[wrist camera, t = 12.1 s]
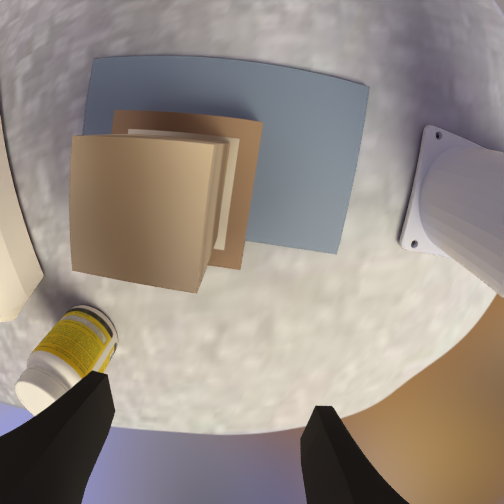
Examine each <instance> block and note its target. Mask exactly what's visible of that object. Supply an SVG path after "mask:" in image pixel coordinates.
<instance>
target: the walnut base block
mask: <svg viewBox="0 0 504 504" xmlns="http://www.w3.org/2000/svg"><path fill="white" fill-rule="evenodd" d="M262 128H263V122H260V121H253V120H246V119H238V118H230V117H222V116H213V115H203V114H192V113H179V112H163V111H139V110H114V117H113V125H112V134H144V135H159V136H171V137H183V138H193V139H202V140H211V141H220V142H227V143H230V149H229V156H228V162H227V169H226V176H225V184H224V191H223V198H222V206H221V213H220V221H219V229H218V237H217V240H216V243H215V246H214V248H213V251H212V254H211V256H210V259H209V262H208V265H211V266H217V267H224V268H231V269H238V270H241V263H242V256H243V250H244V243H245V236H246V230H247V223H248V217H249V210H250V204H251V197H252V191H253V185H254V178H255V172H256V165H257V159H258V153H259V146H260V140H261V134H262Z"/></svg>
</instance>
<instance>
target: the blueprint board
mask: <svg viewBox="0 0 504 504" xmlns="http://www.w3.org/2000/svg"><path fill="white" fill-rule="evenodd" d="M368 94H369V87H368V86H365V85H361V84H358V83H354V82H350V81H347V80H343V79H339V78H335V77H331V76H327V75H322V74H318V73H314V72H309V71H304V70H299V69H294V68H288V67H283V66H277V65H271V64H264V63H257V62H250V61H241V60H232V59H222V58H210V57H193V56H124V57H108V58H96V59H94V61H93V67H92V72H91V77H90V83H89V89H88V96H87V103H86V110H85V119H84V128H83V135H105V134H112V125H113V117H114V110H139V111H163V112H179V113H192V114H203V115H213V116H222V117H230V118H238V119H246V120H253V121H260V122H263V128H262V134H261V140H260V146H259V153H258V159H257V165H256V172H255V178H254V185H253V191H252V197H251V204H250V210H249V217H248V223H247V230H246V236H245V241H251V242H258V243H264V244H271V245H278V246H284V247H291V248H298V249H304V250H311V251H318V252H324V253H331V254H337V251H338V247H339V243H340V239H341V235H342V231H343V227H344V222H345V218H346V214H347V209H348V205H349V200H350V195H351V191H352V186H353V181H354V176H355V171H356V166H357V161H358V155H359V150H360V144H361V139H362V133H363V127H364V121H365V114H366V108H367V101H368Z"/></svg>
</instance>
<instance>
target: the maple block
mask: <svg viewBox="0 0 504 504" xmlns="http://www.w3.org/2000/svg"><path fill="white" fill-rule="evenodd" d="M229 149H230V143H227V142H220V141H211V140H202V139H193V138H183V137H171V136H159V135H144V134H105V135H80V136H72V147H71V162H70V191H69V215H70V244H71V259H72V270H73V271H77V272H82V273H87V274H92V275H97V276H102V277H107V278H112V279H117V280H122V281H128V282H133V283H139V284H144V285H150V286H155V287H161V288H167V289H173V290H179V291H185V292H191V293H197V292H198V290H199V287H200V284H201V281H202V278H203V276H204V273H205V270H206V267H207V265H208V262H209V259H210V256H211V254H212V251H213V248H214V246H215V243H216V240H217V237H218V229H219V221H220V213H221V206H222V198H223V191H224V184H225V176H226V169H227V162H228V156H229Z"/></svg>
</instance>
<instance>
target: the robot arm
mask: <svg viewBox="0 0 504 504" xmlns="http://www.w3.org/2000/svg"><path fill="white" fill-rule="evenodd" d="M436 132H438V134H439V138H438V139H437V138H436ZM414 240H415V244H414V245H413V246H411V243H412V241H414ZM399 244H400V246H401V248H403V249H404V250H408V251H413V252H418V253H424V254H429V255H434V256H440V257H445V258H450V259H454V260H455V261H457V262H458V263H460V264H461V265H462V266H464V267H465V268H466V269H467V270H469V271H470V272H471V273H473V274H474V275H475V276H477V277H478V278H479V279H480V280H482V281H483V282H484V283H485V284H487V285H488V286H489V287H490V288H492V289H493V290H494V291H495V292H497V293H498V294H499V295H500V296H501V297H503V298H504V152H501V151H495V150H488V149H486V148H484V147H482V146H480V145H477V144H475V143H473V142H471V141H469V140H467V139H464V138H462V137H460V136H458V135H455V134H453V133H451V132H448V131H446V130H443V129H441V128H439V127H436V126H433V125H427V126H426V127H425V128H424V130H423V136H422V142H421V148H420V154H419V159H418V164H417V169H416V174H415V179H414V184H413V188H412V193H411V197H410V201H409V205H408V209H407V213H406V217H405V221H404V225H403V229H402V233H401V236H400V240H399ZM114 413H115V408H114V403H113V399H112V394H111V389H110V384H109V379H108V375H107V374H104V373H100V372H97V371H93V370H92V371H91V372H89V373H88V374H87V375H86V376H85V377H83V378H82V379H81V380H80V381H79V382H78V383H76V384H75V385H74V386H73V387H72V388H71V389H69V390H68V391H67V392H66V393H65V394H63V395H62V396H61V397H60V398H58V399H57V400H56V401H55V402H53V403H52V404H51V405H50V406H48V407H47V408H46V409H44V410H43V411H41V412H40V413H39V414H37V415H36V416H34V417H33V418H32V419H30V420H29V421H27V422H26V423H24V424H22V425H21V426H19V427H17V428H16V429H14V430H12V431H10V432H9V433H6V434H4V435H3V436H1V437H0V504H81V502H82V498H83V495H84V491H85V488H86V485H87V482H88V479H89V477H90V475H91V472H92V470H93V468H94V465H95V463H96V461H97V458H98V456H99V454H100V452H101V449H102V447H103V445H104V442H105V440H106V438H107V436H108V433H109V430H110V427H111V424H112V420H113V417H114ZM301 466H302V473H303V480H304V486H305V493H306V499H307V504H409V503H408V502H407V501H406V500H404V499H403V498H402V497H401V496H400V495H399V494H398V493H397V492H396V491H395V490H394V489H393V488H392V487H391V486H390V485H389V484H388V483H387V482H386V481H385V480H384V479H383V477H382V476H381V475H380V474H379V473H378V472H377V470H376V469H375V468H374V467H373V465H372V464H371V463H370V462H369V460H368V459H367V458H366V457H365V455H364V454H363V452H362V451H361V449H360V448H359V447H358V445H357V444H356V442H355V441H354V439H353V438H352V437H351V435H350V433H349V432H348V430H347V429H346V427H345V425H344V424H343V422H342V421H341V419H340V417H339V416H338V414H337V413H336V411H335V409H334V408H333V407H332V406H315V408H314V410H313V413H312V415H311V417H310V419H309V421H308V424H307V426H306V428H305V430H304V432H303V435H302V437H301Z"/></svg>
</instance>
